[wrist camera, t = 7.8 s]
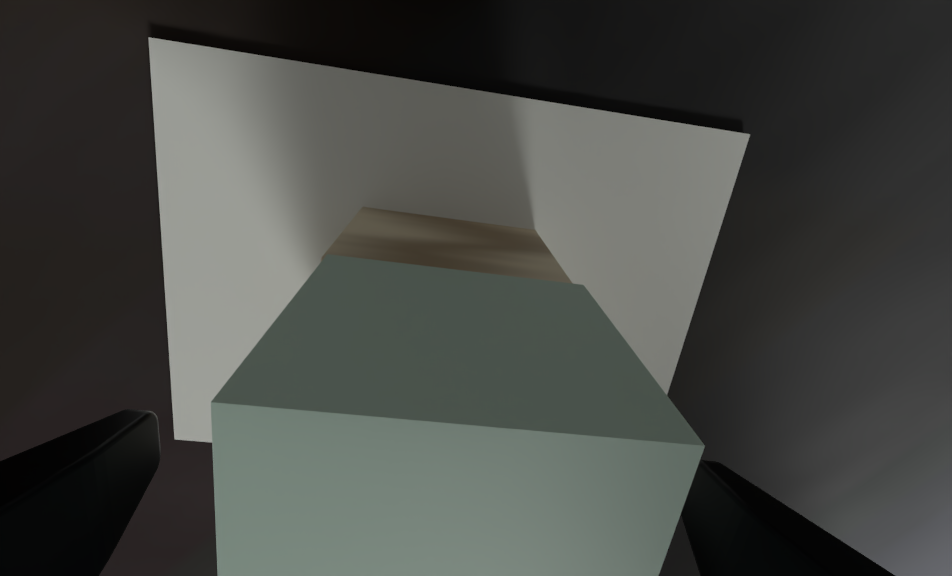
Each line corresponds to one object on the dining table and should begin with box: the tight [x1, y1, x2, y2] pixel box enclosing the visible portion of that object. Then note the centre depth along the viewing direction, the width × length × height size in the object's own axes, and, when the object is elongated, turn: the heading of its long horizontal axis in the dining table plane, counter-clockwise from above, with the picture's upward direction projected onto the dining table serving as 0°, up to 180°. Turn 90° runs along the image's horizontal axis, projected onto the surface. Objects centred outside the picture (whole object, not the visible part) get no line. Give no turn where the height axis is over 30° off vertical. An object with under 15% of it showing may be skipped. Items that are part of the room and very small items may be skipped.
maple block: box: [321, 207, 573, 284], centre depth 13 cm, size 5×5×5 cm
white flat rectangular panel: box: [149, 37, 750, 442], centre depth 15 cm, size 16×12×1 cm
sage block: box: [211, 254, 705, 576], centre depth 8 cm, size 5×5×5 cm
